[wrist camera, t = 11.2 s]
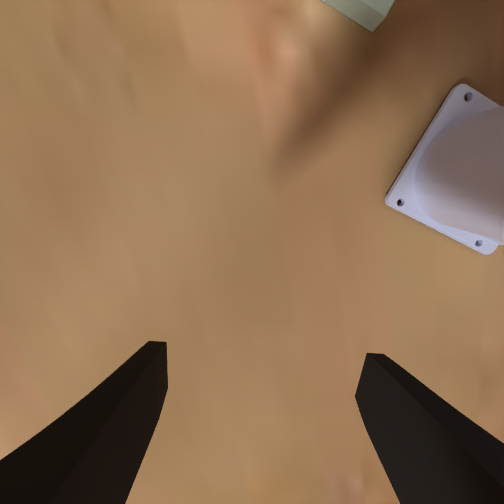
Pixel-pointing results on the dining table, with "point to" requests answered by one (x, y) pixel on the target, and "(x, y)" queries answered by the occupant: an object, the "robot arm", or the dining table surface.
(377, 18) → the pin tray
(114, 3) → the dining table surface
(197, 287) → the dining table surface
